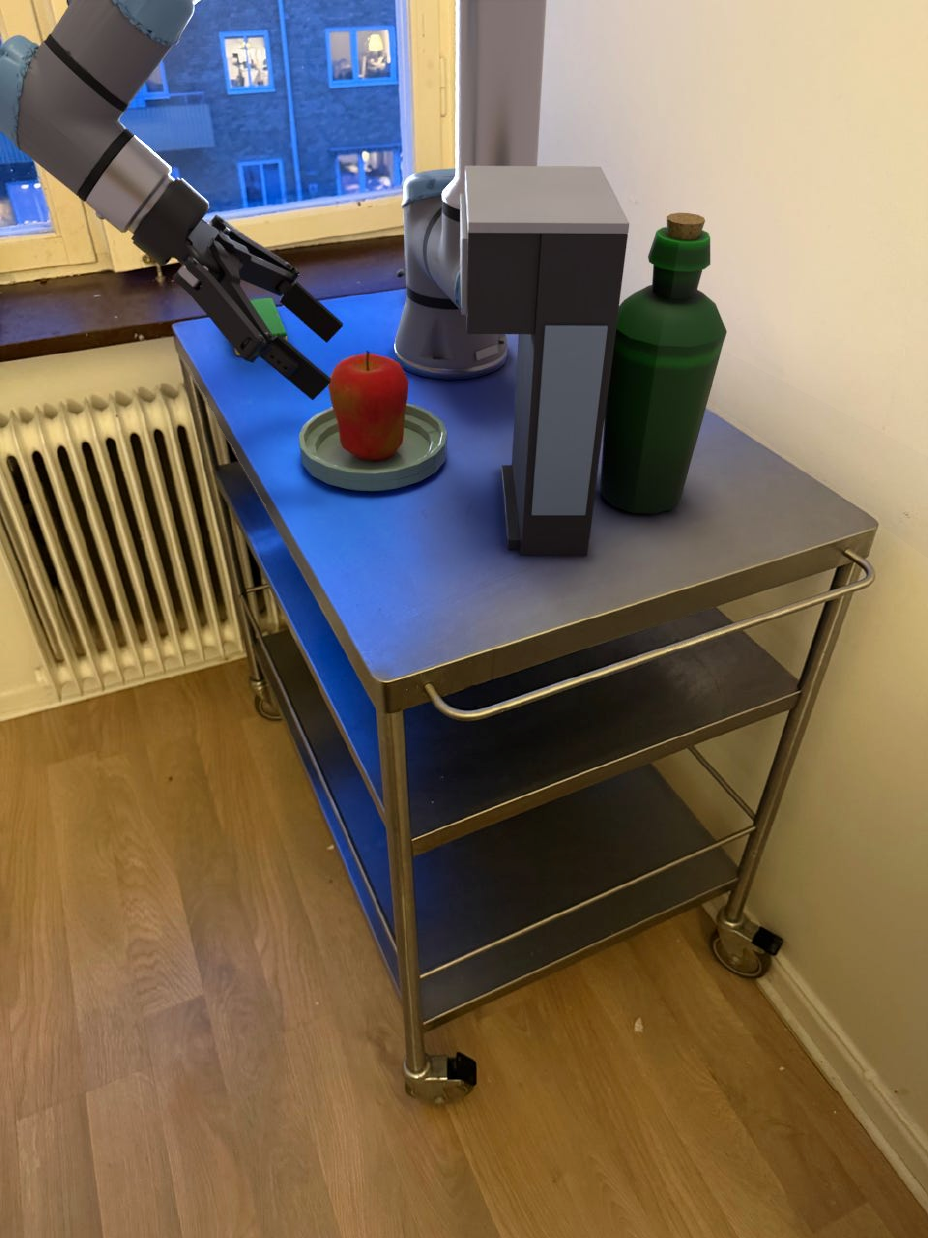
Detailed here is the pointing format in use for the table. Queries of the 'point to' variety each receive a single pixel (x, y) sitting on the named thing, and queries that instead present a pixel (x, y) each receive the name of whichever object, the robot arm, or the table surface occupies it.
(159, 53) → the robot arm
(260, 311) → the dish sponge
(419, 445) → the dish
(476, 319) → the coffee maker
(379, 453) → the apple
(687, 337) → the bottle
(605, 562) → the table surface
